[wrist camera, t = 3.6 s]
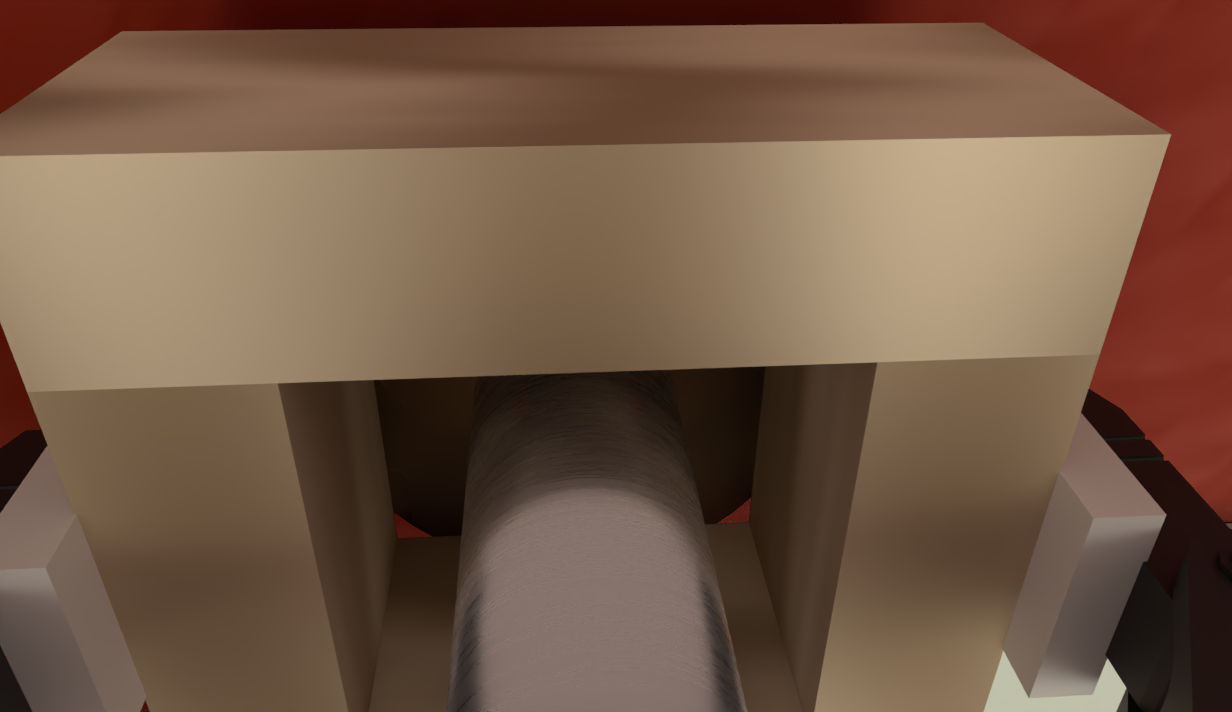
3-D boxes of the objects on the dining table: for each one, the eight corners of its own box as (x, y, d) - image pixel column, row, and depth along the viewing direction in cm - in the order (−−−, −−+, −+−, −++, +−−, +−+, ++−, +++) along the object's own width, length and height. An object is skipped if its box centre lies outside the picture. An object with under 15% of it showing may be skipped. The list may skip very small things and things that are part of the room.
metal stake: (378, 462, 18) (257, 1029, 10) (318, 77, 14) (44, 498, 6) (756, 446, 19) (930, 975, 10) (796, 71, 15) (1119, 453, 7)
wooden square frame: (279, 642, 16) (213, 878, 13) (120, 31, 11) (-64, 157, 7) (862, 611, 17) (946, 827, 13) (982, 22, 12) (1170, 135, 8)
